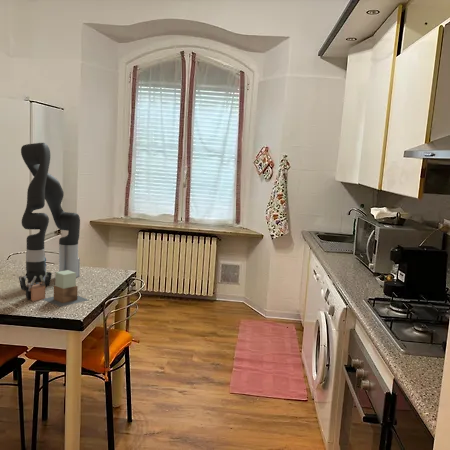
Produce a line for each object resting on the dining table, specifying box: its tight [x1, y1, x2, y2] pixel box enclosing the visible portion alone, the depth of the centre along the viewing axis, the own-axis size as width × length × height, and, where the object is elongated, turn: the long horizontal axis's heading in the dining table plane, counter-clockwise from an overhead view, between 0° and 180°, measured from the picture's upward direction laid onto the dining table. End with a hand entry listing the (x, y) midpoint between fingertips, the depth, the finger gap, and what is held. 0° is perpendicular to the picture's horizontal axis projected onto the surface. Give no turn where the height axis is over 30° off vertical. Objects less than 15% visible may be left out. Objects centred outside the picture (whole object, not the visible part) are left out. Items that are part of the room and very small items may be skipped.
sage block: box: [54, 270, 77, 289], centre depth 198 cm, size 6×6×6 cm
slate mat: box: [41, 295, 89, 308], centre depth 200 cm, size 14×14×1 cm
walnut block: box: [53, 285, 78, 303], centre depth 199 cm, size 7×7×6 cm
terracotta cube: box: [30, 284, 46, 302], centre depth 199 cm, size 6×6×6 cm
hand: (35, 297), depth 199 cm, fingers closed on terracotta cube, 5 cm apart
